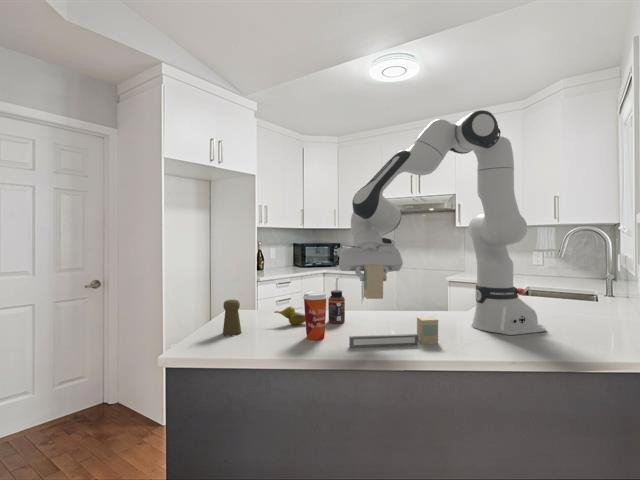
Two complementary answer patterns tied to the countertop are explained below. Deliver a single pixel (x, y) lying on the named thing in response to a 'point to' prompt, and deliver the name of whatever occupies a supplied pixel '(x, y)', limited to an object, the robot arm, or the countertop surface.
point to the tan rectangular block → (373, 281)
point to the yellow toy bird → (292, 316)
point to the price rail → (383, 340)
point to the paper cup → (315, 314)
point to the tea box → (427, 330)
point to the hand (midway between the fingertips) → (373, 280)
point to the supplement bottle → (336, 307)
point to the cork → (231, 318)
